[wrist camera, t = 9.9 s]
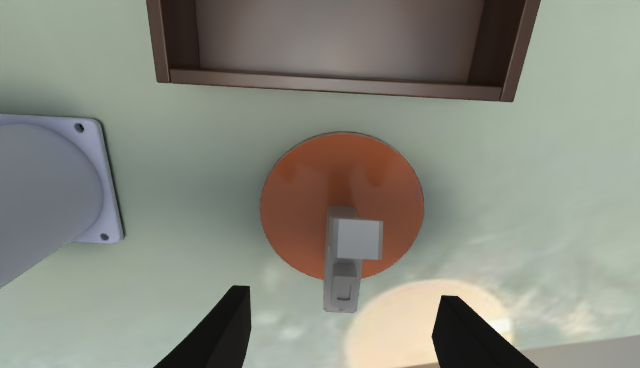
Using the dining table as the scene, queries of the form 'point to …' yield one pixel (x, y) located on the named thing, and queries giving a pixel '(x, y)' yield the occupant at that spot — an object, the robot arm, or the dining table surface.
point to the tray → (346, 45)
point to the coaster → (340, 198)
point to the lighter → (347, 255)
